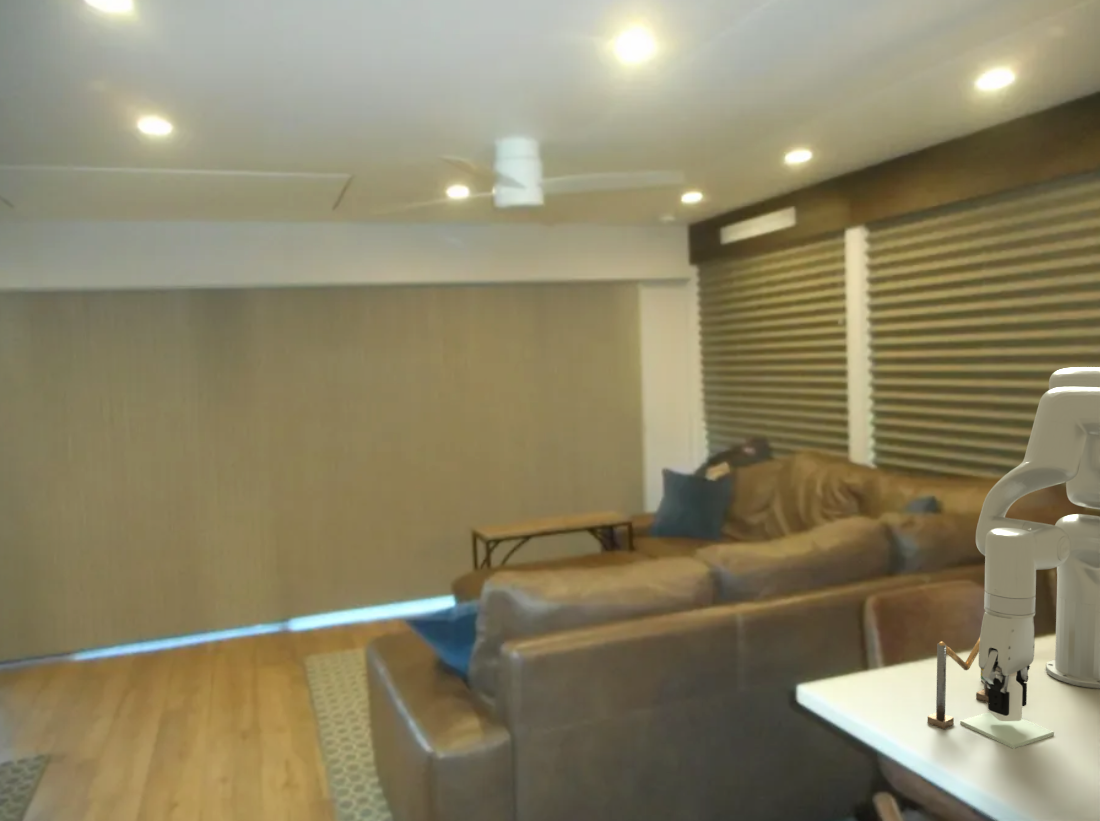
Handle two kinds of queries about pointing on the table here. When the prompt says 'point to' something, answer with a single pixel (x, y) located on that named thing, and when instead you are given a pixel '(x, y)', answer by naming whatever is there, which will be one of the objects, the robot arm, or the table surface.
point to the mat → (1007, 730)
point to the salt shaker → (1011, 699)
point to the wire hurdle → (939, 717)
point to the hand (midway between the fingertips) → (1007, 706)
